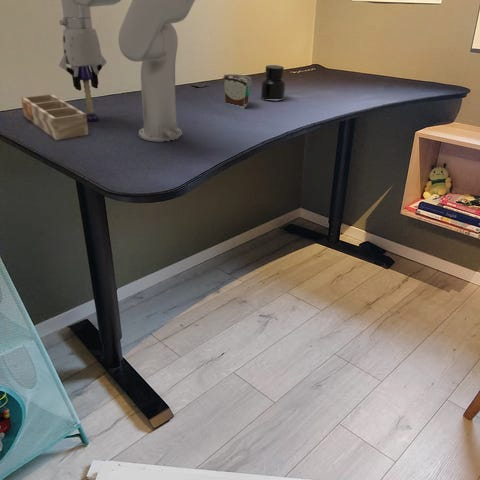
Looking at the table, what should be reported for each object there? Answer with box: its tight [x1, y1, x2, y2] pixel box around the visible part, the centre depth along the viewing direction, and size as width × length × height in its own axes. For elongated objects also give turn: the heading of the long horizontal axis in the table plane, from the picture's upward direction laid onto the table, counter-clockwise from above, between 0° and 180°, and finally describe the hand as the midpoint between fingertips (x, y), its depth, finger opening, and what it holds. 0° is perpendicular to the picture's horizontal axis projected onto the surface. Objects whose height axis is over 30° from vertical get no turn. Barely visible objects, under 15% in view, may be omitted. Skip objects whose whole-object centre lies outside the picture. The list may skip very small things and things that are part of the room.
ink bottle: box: [260, 64, 286, 99], centre depth 180 cm, size 10×9×12 cm
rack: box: [20, 93, 89, 141], centre depth 141 cm, size 26×10×6 cm, turn 40°
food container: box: [222, 73, 253, 107], centre depth 171 cm, size 12×6×10 cm, turn 47°
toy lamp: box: [78, 66, 99, 122], centre depth 145 cm, size 5×5×17 cm
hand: (86, 87), depth 144 cm, fingers closed on toy lamp, 4 cm apart
